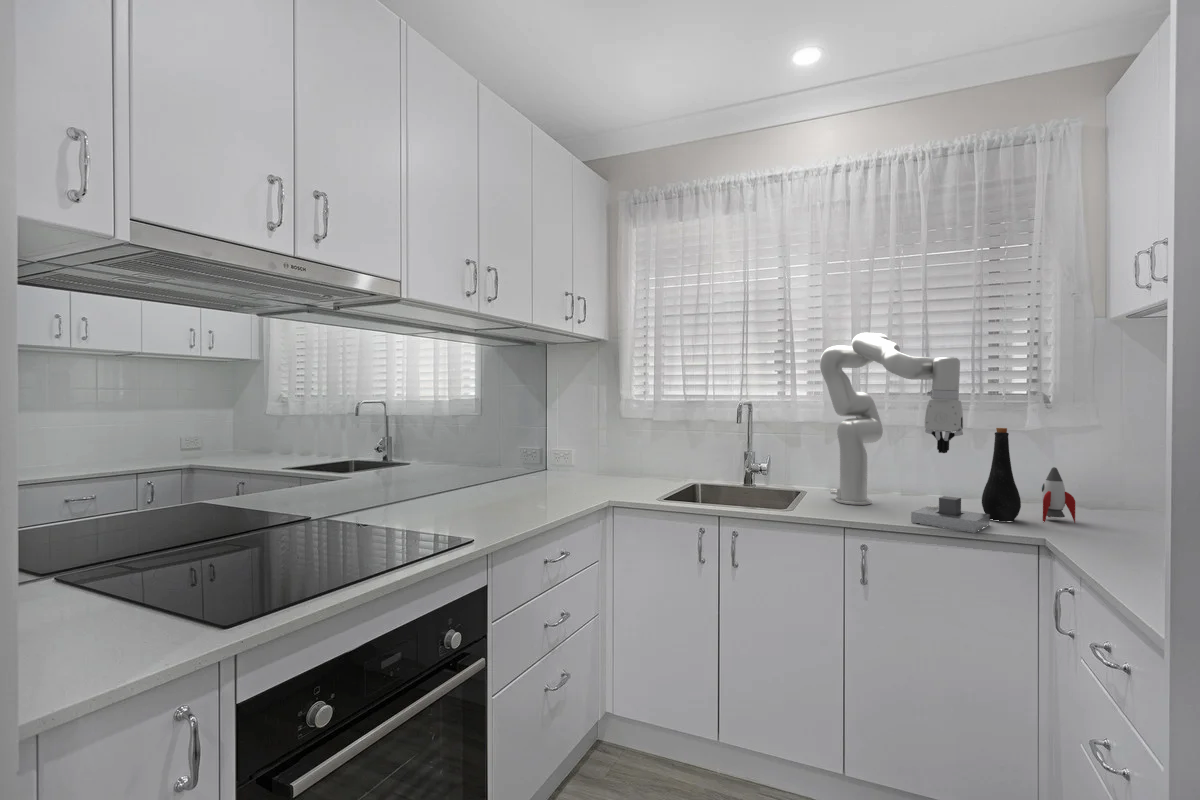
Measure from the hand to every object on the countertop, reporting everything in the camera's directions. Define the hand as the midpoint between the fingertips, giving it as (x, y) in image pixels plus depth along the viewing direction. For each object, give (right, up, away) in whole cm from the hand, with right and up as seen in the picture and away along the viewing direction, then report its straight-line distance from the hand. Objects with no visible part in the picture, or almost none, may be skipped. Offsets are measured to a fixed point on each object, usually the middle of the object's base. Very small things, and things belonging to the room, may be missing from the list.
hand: (942, 452), depth 190 cm
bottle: (+20, -22, +2) cm, 30 cm away
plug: (+1, -22, -3) cm, 22 cm away
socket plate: (0, -22, -4) cm, 23 cm away
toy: (+37, -23, 0) cm, 43 cm away
